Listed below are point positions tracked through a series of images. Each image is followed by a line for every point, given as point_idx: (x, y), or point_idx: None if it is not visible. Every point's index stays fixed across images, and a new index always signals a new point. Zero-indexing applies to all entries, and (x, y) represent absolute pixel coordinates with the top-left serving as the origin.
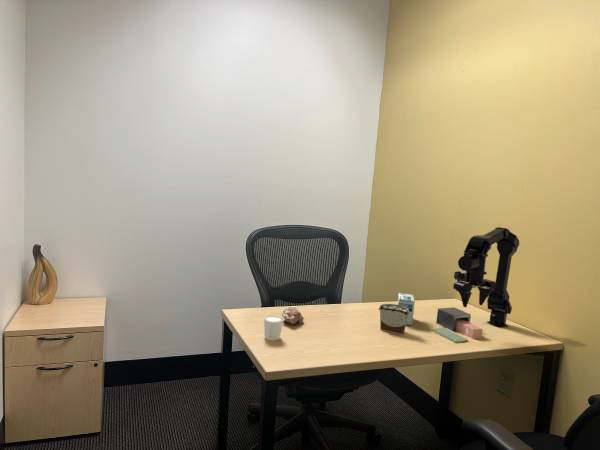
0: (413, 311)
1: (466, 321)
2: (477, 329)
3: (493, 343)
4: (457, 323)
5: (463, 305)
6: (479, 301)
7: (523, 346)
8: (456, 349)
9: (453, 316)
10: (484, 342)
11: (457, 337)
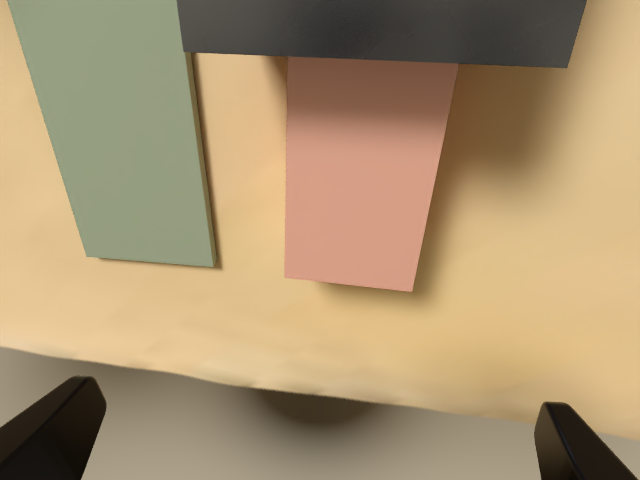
0: None
1: None
2: (341, 282)
3: (387, 340)
4: None
5: (55, 397)
6: (567, 466)
7: None
8: (40, 321)
9: (185, 29)
10: (334, 309)
11: (150, 205)
